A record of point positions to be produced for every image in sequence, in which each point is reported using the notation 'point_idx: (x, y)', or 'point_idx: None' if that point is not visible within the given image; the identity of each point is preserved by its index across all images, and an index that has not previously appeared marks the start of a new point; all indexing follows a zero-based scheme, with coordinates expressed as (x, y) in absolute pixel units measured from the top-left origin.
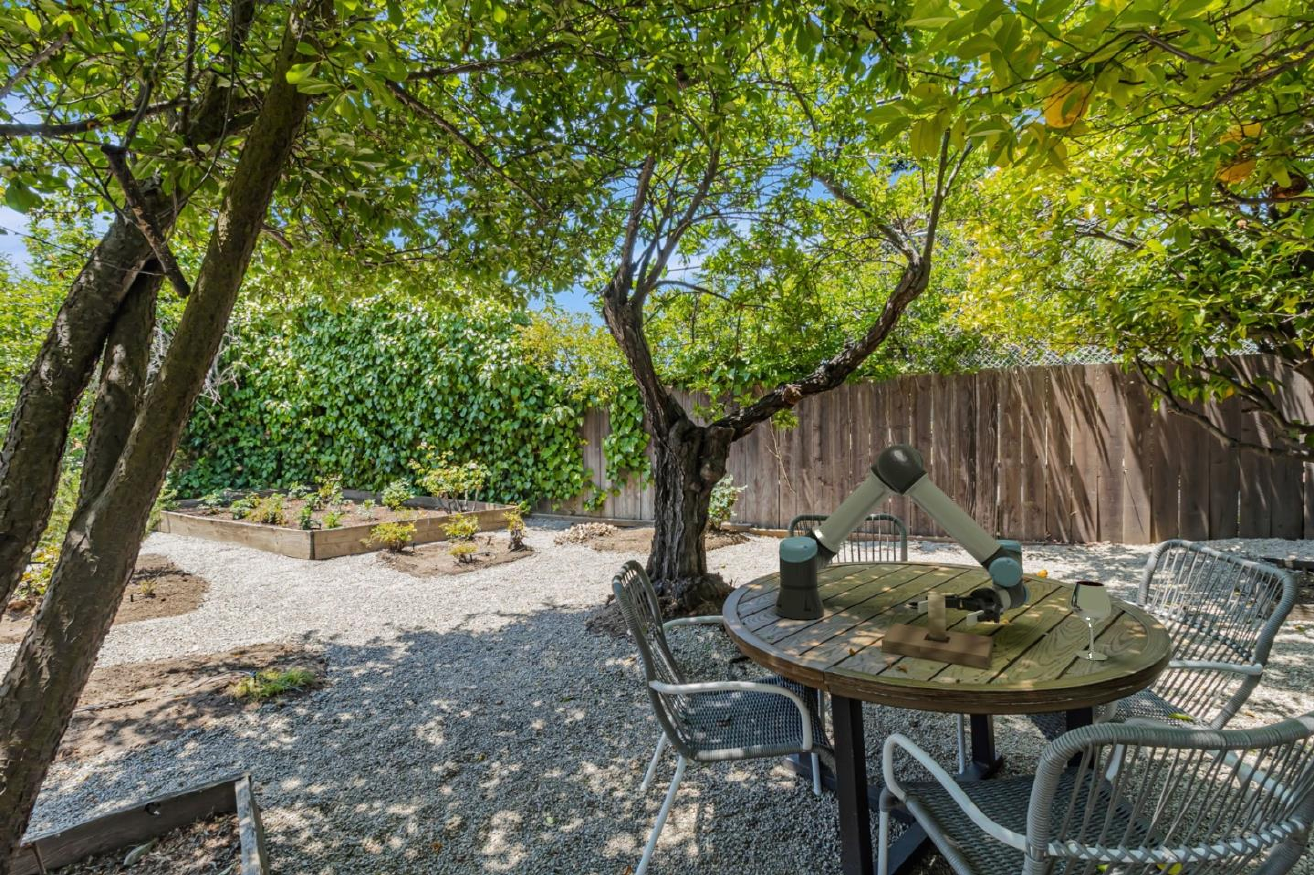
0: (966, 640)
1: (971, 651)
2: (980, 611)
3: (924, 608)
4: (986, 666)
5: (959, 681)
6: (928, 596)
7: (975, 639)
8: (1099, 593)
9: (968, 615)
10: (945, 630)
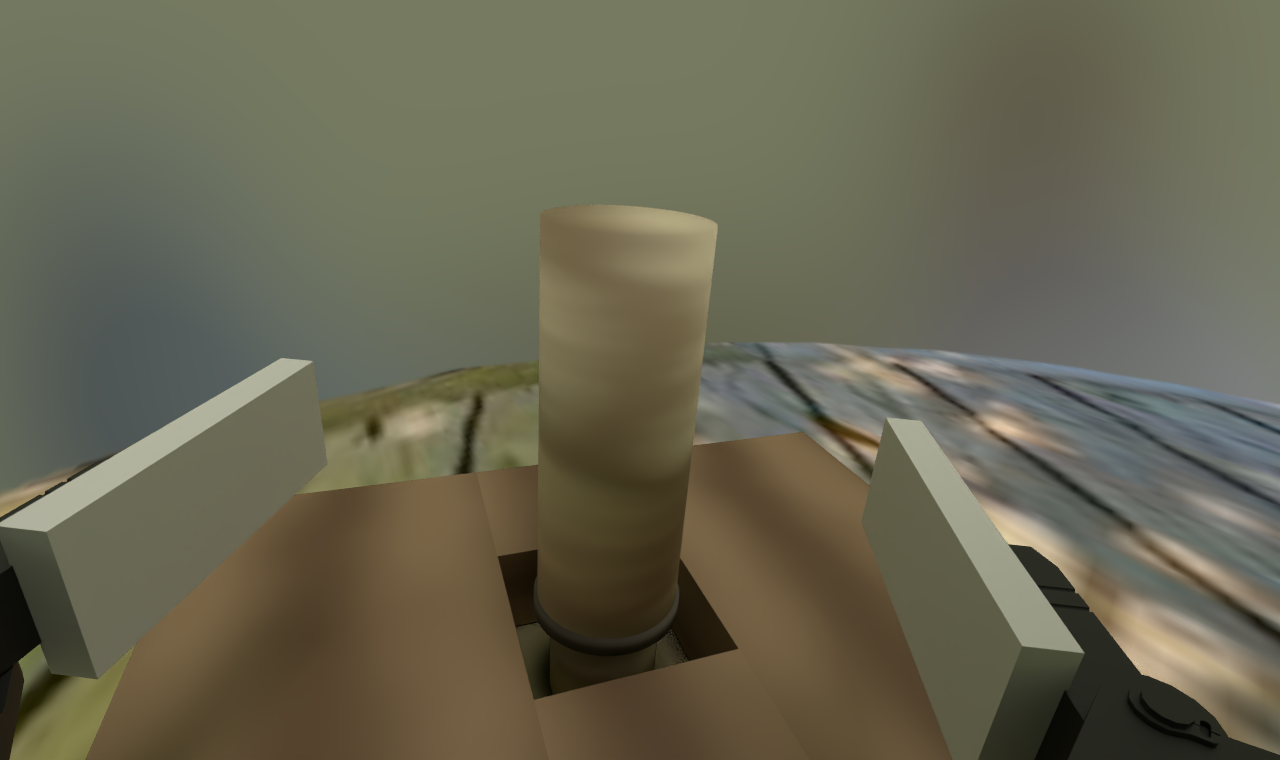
0: (365, 711)
1: (308, 525)
2: (87, 482)
3: (892, 533)
4: None
5: (366, 428)
6: (680, 215)
7: None
8: None
9: (291, 362)
10: (538, 534)
